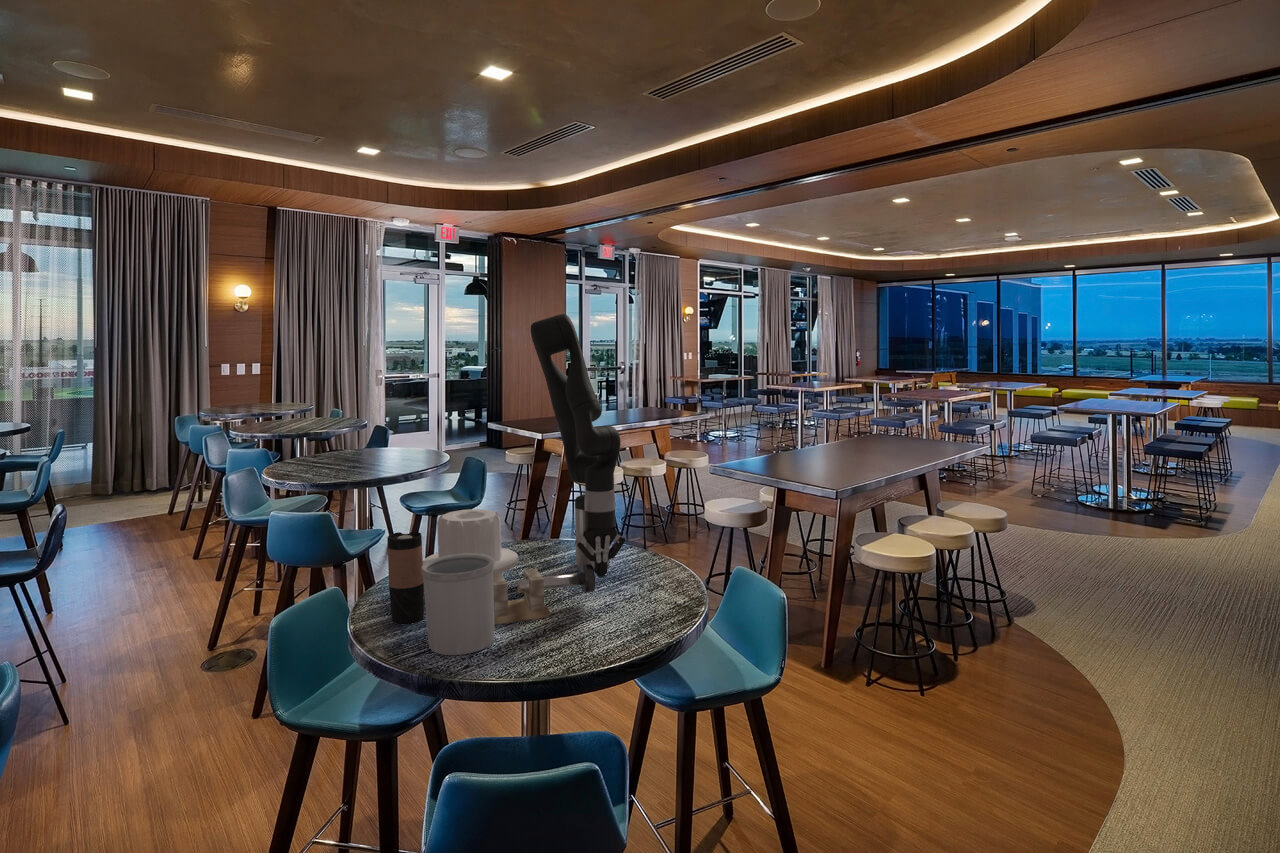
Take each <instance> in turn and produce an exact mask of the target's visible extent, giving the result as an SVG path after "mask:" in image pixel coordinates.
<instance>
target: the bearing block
mask: <svg viewBox="0 0 1280 853" xmlns="http://www.w3.org/2000/svg"><path fill="white" fill-rule="evenodd" d="M542 577H543V576H542V575H541V574H540V572H539V571H538V569H537V568H531V569H529V568H528V569H523V580H524V579H529V592H523V594H524V595H523V597H524V598H521V599H514V600H509V599H508V582H507V581H506V579H505V578H504V575H503V574H502V573H495V574H493V591H494V626H496V625H501V624H510V623H517V622H522V621H523V622H524V621H528V620H529V621H530V620H536V619H537V620H538V619H544V618H550V609H549V608H548V607H547V605H546V604H545V590H544V579H543V578H542Z"/></svg>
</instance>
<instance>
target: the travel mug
mask: <svg viewBox="0 0 1280 853" xmlns="http://www.w3.org/2000/svg"><path fill="white" fill-rule="evenodd" d="M423 558H424V557H423V542H422V533H421V532H419V531H414V530H413V531H411V532H409V533H402V532H394V533H391V534H389V535H388V536H387V564H388V565H387V566H388V589H389V591H388V592H389V602H390V604H389V605H390V611H391V612H390V614H391V622H392V623H393V624H394V623H396V624H395V625H398V624H408V625H413V624H412V623H414V624H417V623H419V622H421V621H422V620H423V619H424V617H425V595H424V578H423V575H422V569H421V568H422V565H423V560H424V559H423Z"/></svg>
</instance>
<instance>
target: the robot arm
mask: <svg viewBox="0 0 1280 853" xmlns="http://www.w3.org/2000/svg"><path fill="white" fill-rule="evenodd" d="M530 335H531V340H532V344H533V346H534V349H535V352H536V355H537V358H538V361H539V363H540V367H541V370H542V372H543V375H544V378H545V381H546V386H547V389H548V394H549V397H550V401H551V405H552V410H553V412H554V416H555V419H556V422H557V426H558V430H559V433H560V436H561V440H562V445H563V449H564V457H565V461H566V462H565V463H566V466H567V470H568V471H567V472H568V475H569V477H570V479H571V481H573V482H574V483H577V484H582V485H584V486H585V488H584V489H585V490H584V492H585V493H584V494H580V495H578V496H576V497H575V499H574V521H575V524H574V526H575V527H574V530H575V531H574V532H575V537H574V538H575V543H574V544H575V566H576V567H577V568H579V569H580V565H581V564H586V563H591V564H592V566H593V569H594V573H595V576H597V577H598V578H605V577H606V575H607V574H608V566H607V565H609V566H610V564H611V562H610V561H611V560H613V559H615V557H616V556H617V554H618V553H619V551H620V550H621V548H622V547H623V545H624V544H625V543H626V538H625V537H623V536H622V535H620V534H619V533H618V531H617V529H616V507H617V506H616V495H615V475H614V473H615V470H616V468H617V467H616V466H617V461H618V457H619V454H620V450H621V437H620V434H619V431H618V430H617V429H616V428H615V427H614V426H613V425H601V426H599V425H598V426H594V424H593V422H595V421H597V420H598V419H599V418H600V417H601V416H602V408H601V404H600V402H599V401H598V398H597V395H596V392H595V391H594V388H593V385H592V382H591V379H590V377H589V371H588V369H587V365H586V361H585V358H584V355H583V350H582V348H581V347H582V346H581V343H580V341H579V337H578V334H577V330H576V328H575V326H574V322H573V321H572V319H571V318H570V316H569V315H568V314H566V313H561V314H556V315H554V316H550V317H547V318H544V319H540V320H537V321H535V322H533V323H531V324H530ZM565 351H569V355H570V356H569V357H570V362H569V363H570V364H569V370H568V374H565V372H563V371H562V369H560V368H559V367H558V366H557V365H556V363H555V362H554V361H553V359H552V355H555V354H558V353H561V352H565ZM612 543H613V544H612Z"/></svg>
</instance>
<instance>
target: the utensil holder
mask: <svg viewBox="0 0 1280 853" xmlns="http://www.w3.org/2000/svg"><path fill="white" fill-rule="evenodd" d="M493 567H494V561H493V559H492V558H491V557H490V556H487V555H484V554H475V553H464V554H453V555H447V556H443V557H439V558H435V559H432V560H430V561H428V562H426V563H424V564H423V565H422V568H421V569H422V575H423V578H424V610H425V620H426V623H425V624H426V632H427V642H428V643H427V644H428V647H429V650H430V649H431V650H432V651H431V650H430V651H431V652H433V653H435V652H436V653H435V654H439V655H444V656H462V655H468V654H472V653H477V652H479V651H482V650H484V649H486V648H488V647H489V646H490V645H492V644H493V642H494V641H495V625H494V591H493Z"/></svg>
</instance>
